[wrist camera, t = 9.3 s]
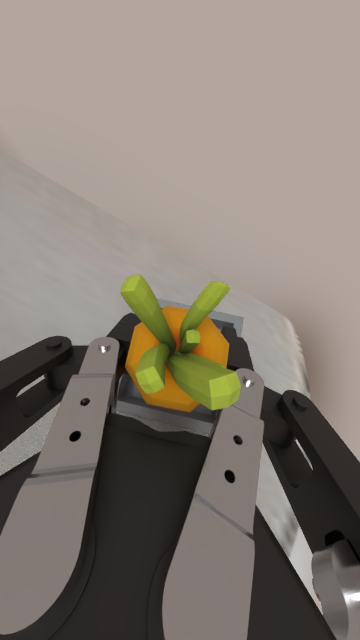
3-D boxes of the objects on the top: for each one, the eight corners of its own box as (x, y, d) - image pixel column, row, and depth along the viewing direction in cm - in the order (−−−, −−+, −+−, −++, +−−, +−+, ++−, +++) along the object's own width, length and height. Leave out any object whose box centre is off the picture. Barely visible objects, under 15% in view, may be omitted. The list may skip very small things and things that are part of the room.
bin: (118, 399, 20) (103, 407, 16) (144, 306, 22) (137, 294, 19) (216, 423, 19) (225, 437, 16) (232, 326, 22) (243, 317, 18)
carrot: (149, 343, 19) (53, 260, 4) (196, 333, 19) (253, 224, 5) (157, 394, 18) (65, 510, 3) (208, 382, 18) (332, 441, 4)
